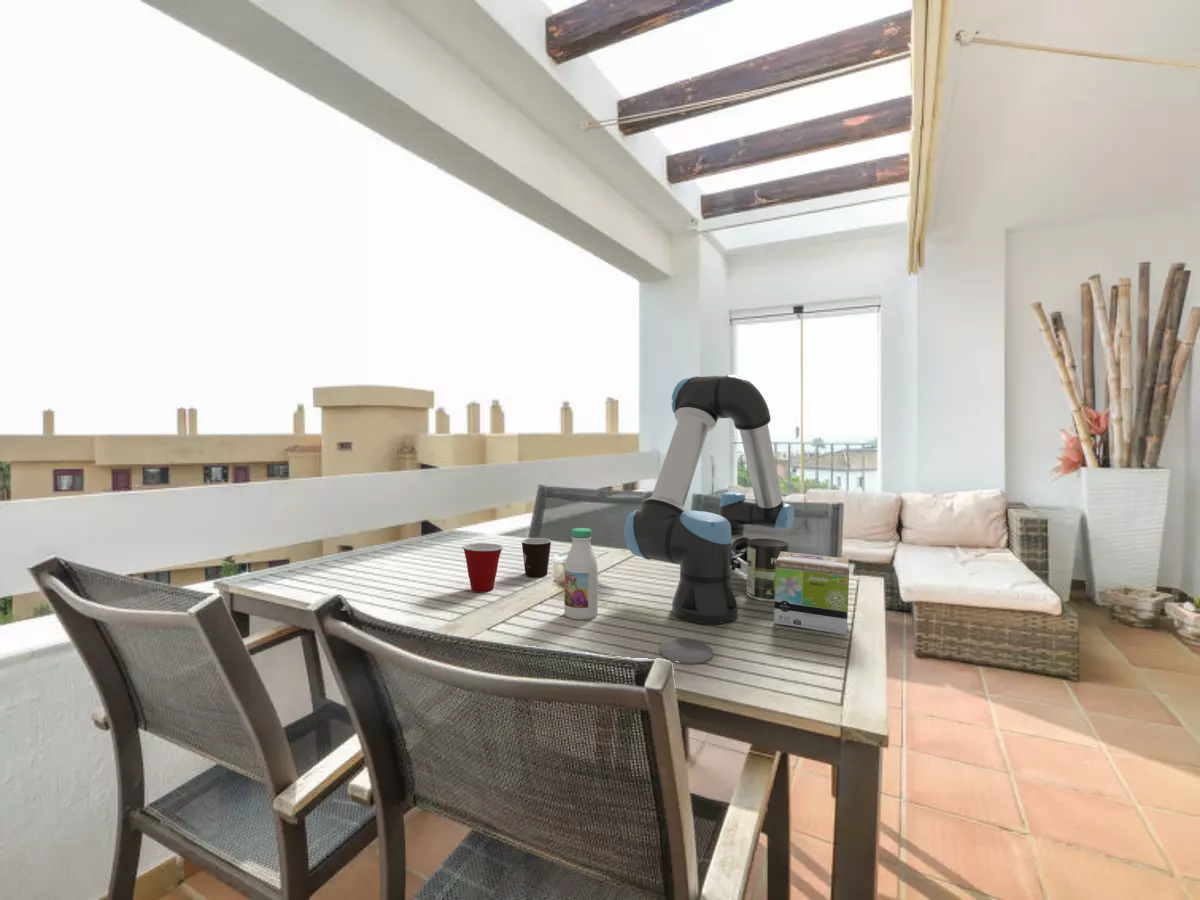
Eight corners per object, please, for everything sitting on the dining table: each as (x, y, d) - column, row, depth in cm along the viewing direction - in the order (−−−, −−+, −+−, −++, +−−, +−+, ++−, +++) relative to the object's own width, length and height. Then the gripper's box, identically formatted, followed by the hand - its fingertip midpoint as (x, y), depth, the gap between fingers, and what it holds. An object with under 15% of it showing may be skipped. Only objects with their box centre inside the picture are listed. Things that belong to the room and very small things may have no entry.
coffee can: (796, 597, 140) (797, 543, 139) (769, 604, 134) (770, 548, 134) (763, 587, 149) (764, 536, 148) (737, 594, 143) (738, 540, 142)
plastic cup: (512, 587, 147) (512, 543, 147) (483, 597, 138) (483, 551, 138) (482, 581, 153) (482, 538, 153) (453, 590, 144) (453, 545, 143)
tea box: (773, 625, 120) (774, 559, 120) (777, 611, 129) (779, 550, 129) (847, 636, 114) (849, 566, 114) (847, 621, 123) (848, 556, 123)
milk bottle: (581, 607, 131) (582, 525, 131) (604, 615, 126) (605, 529, 125) (557, 614, 126) (557, 528, 125) (579, 623, 121) (580, 533, 120)
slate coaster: (666, 665, 99) (666, 660, 99) (655, 643, 109) (655, 639, 109) (719, 663, 100) (719, 659, 100) (704, 642, 110) (704, 638, 110)
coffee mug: (549, 578, 156) (549, 544, 156) (519, 578, 156) (519, 543, 156) (553, 568, 168) (553, 536, 167) (525, 568, 168) (525, 535, 167)
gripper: (783, 562, 160) (818, 582, 139) (701, 563, 158) (724, 584, 137) (783, 536, 160) (819, 553, 139) (701, 537, 158) (725, 554, 137)
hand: (772, 568), depth 138 cm, fingers open, 13 cm apart
